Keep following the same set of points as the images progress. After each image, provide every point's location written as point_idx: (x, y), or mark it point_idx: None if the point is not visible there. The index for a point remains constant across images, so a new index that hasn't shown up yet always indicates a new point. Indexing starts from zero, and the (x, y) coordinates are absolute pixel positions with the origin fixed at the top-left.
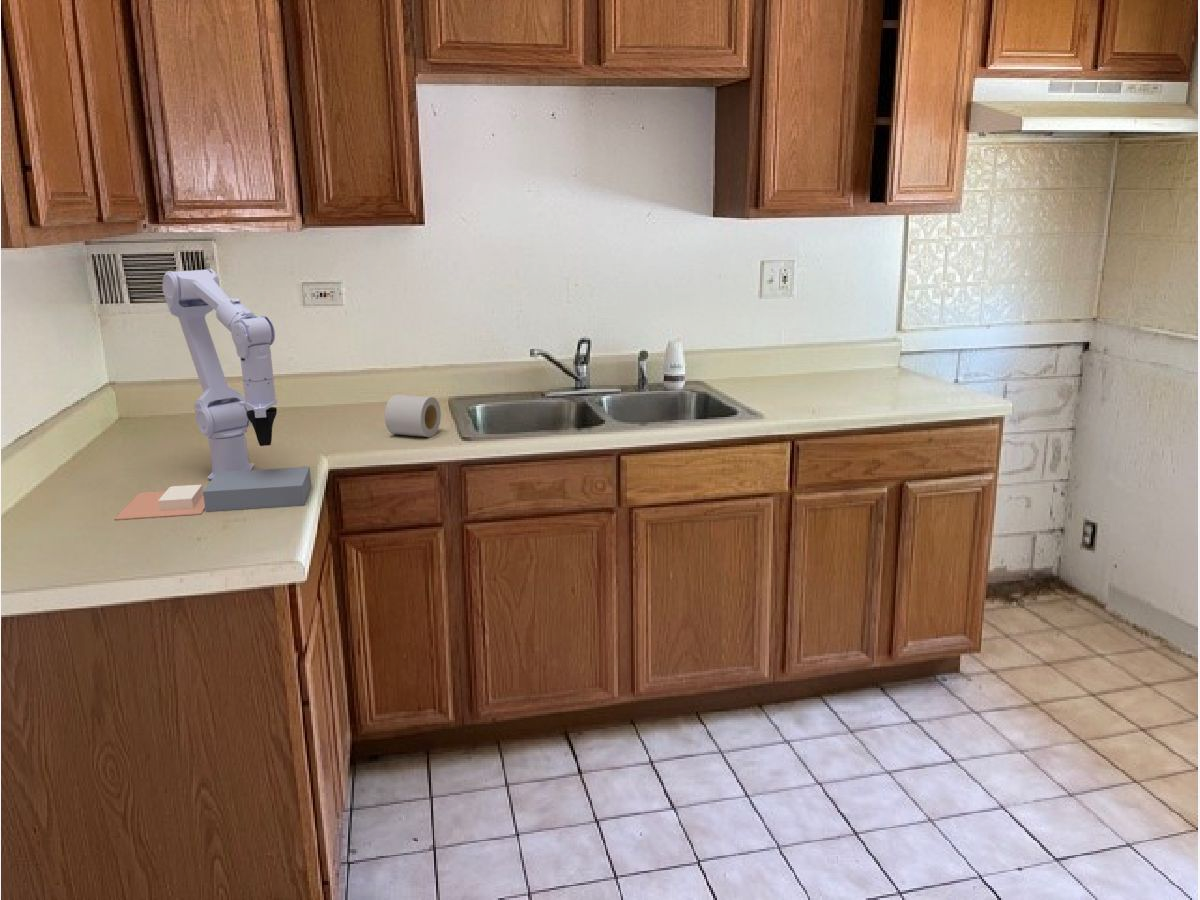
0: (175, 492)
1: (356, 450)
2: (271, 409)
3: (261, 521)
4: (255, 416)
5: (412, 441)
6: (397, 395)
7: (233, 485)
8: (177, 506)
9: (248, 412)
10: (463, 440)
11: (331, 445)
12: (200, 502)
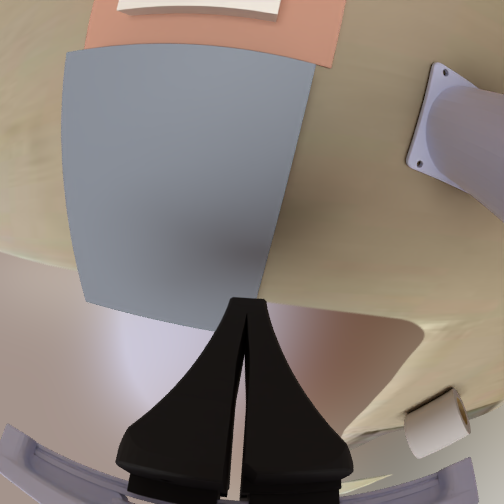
0: None
1: (431, 362)
2: (243, 500)
3: (30, 194)
4: (4, 430)
5: (408, 404)
6: (463, 436)
7: (99, 135)
8: None
9: (189, 480)
10: (367, 432)
11: (482, 331)
12: (180, 21)
